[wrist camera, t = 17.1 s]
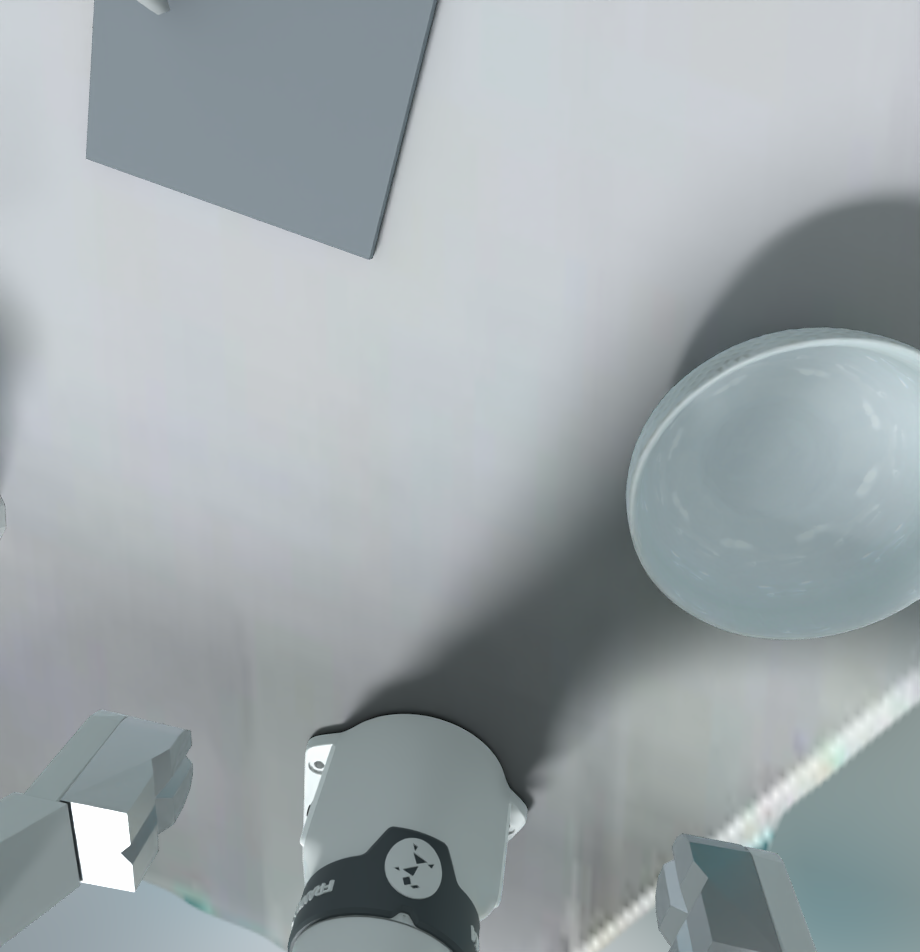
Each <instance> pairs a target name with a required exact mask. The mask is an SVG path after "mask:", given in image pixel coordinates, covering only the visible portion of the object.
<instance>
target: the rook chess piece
mask: <svg viewBox="0 0 920 952" xmlns="http://www.w3.org/2000/svg"><path fill="white" fill-rule="evenodd" d="M137 1H138V2H140V3H141V4H142V5H144V6H145V7H147V8H148V9H150V10H151V11H153V12H154V13H156V14H158V15H160V14H162V13H165V12H168V11H170V7H169V4H168V2H167V0H137Z"/></svg>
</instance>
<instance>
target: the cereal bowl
mask: <svg viewBox="0 0 920 952" xmlns="http://www.w3.org/2000/svg"><path fill="white" fill-rule="evenodd" d="M626 484H627V489H626V506H627V507H626V510H627V517H628V523H629V529H630V533H631V537H632V541H633V545H634V549H635V551H636V553H637V556H638V558H639V560H640V563H641V564H642V566H643V568H644V570H645V571H646V573H647V574H648V576H649V577H650V579H651V580H652V581H653V583H654V584H655V585H656V586H657V587H658V588H659V589H660V591H661V592H662V593H663V594H664V595H665V596H666V597H667V598H669V599H670V600H671V601H672V602H673V603H674V604H675V605H677V606H678V607H680V608H681V609H683V610H684V611H686V612H687V613H688V614H690V615H692V616H693V617H695V618H697V619H699V620H701V621H703V622H705V623H707V624H709V625H711V626H714V627H717V628H719V629H722V630H725V631H728V632H731V633H735V634H739V635H744V636H748V637H754V638H762V639H774V640H800V639H813V638H821V637H827V636H833V635H837V634H841V633H845V632H849V631H852V630H856V629H859V628H862V627H865V626H868V625H870V624H873V623H876V622H878V621H881V620H883V619H885V618H887V617H889V616H891V615H893V614H895V613H897V612H899V611H901V610H903V609H905V608H906V607H908V606H909V605H911V604H913V603H914V602H916V601H917V600H919V599H920V350H918V349H916V348H914V347H913V346H911V345H908V344H906V343H902V342H899V341H898V340H893V339H891V338H887V337H884V336H882V335H877V334H870V333H867V332H865V331H860V330H850V329H844V328H839V329H838V328H829V327H824V328H820V327H819V328H801V329H795V330H793V329H787V330H785V331H780V332H775V333H772V334H765V335H763V336H760V337H758V338H752V339H750V340H748V341H745V342H742V343H740V344H738V345H734V346H732V347H730V348H729V349H726V350H724V351H723V352H721V353H719V354H717V355H715V356H714V357H712V358H711V359H709V360H707V361H706V362H704V363H702V364H700V365H699V366H698V367H697V368H696V369H694V370H692V371H691V372H690V373H689V374H688V375H686V376H685V377H684V378H683V379H682V380H680V381H679V382H678V383H677V384H676V385H675V386H674V387H672V388H671V390H670V391H669V392H668V393H667V394H666V395H665V397H664V398H663V399H662V400H661V401H660V403H659V404H658V406H657V407H656V408H655V409H654V410H653V412H652V414H651V416H650V417H649V419H648V421H647V422H646V424H645V425H644V427H643V429H642V432H641V434H640V436H639V438H638V441H637V442H636V446H635V448H634V452H633V454H632V458H631V462H630V466H629V470H628V479H627V483H626Z"/></svg>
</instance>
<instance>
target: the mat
mask: <svg viewBox="0 0 920 952" xmlns="http://www.w3.org/2000/svg"><path fill="white" fill-rule="evenodd" d="M167 2H168V4H169V7H170V11H168V12H165V13H162V14H160V15H158V14H156V13H154V12H153V11H151V10H150V9H148V8H147V7H145V6H144V5H142V4H141V3H140V2H138V1H137V0H94V16H93V35H92V54H91V73H90V92H89V111H88V130H87V148H86V159H89V160H91V161H94V162H97V163H100V164H103V165H105V166H108V167H111V168H114V169H117V170H119V171H122V172H125V173H128V174H131V175H133V176H136V177H139V178H142V179H145V180H147V181H150V182H153V183H156V184H159V185H161V186H164V187H167V188H170V189H173V190H175V191H178V192H181V193H184V194H187V195H189V196H192V197H195V198H198V199H201V200H203V201H206V202H209V203H212V204H215V205H217V206H220V207H223V208H226V209H229V210H231V211H234V212H237V213H240V214H243V215H245V216H248V217H251V218H254V219H256V220H259V221H262V222H265V223H268V224H270V225H273V226H276V227H279V228H282V229H284V230H287V231H290V232H293V233H296V234H298V235H301V236H304V237H307V238H310V239H312V240H315V241H318V242H321V243H324V244H326V245H329V246H332V247H335V248H338V249H340V250H343V251H346V252H349V253H352V254H354V255H357V256H360V257H363V258H366V259H368V260H369V259H372V258H373V254H374V250H375V246H376V242H377V238H378V234H379V230H380V226H381V222H382V218H383V214H384V210H385V206H386V202H387V198H388V194H389V190H390V186H391V183H392V179H393V175H394V171H395V167H396V163H397V159H398V155H399V151H400V147H401V143H402V139H403V135H404V131H405V127H406V123H407V119H408V115H409V111H410V107H411V103H412V99H413V95H414V91H415V87H416V83H417V79H418V75H419V71H420V67H421V63H422V59H423V55H424V51H425V47H426V43H427V39H428V35H429V31H430V27H431V23H432V19H433V15H434V11H435V7H436V3H437V0H167Z"/></svg>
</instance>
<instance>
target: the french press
mask: <svg viewBox="0 0 920 952" xmlns="http://www.w3.org/2000/svg"><path fill="white" fill-rule="evenodd" d="M5 529H6V517H5V504H4V502H3V500H2V498H1V496H0V539H1V537H2V535H3V533H4V531H5Z"/></svg>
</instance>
